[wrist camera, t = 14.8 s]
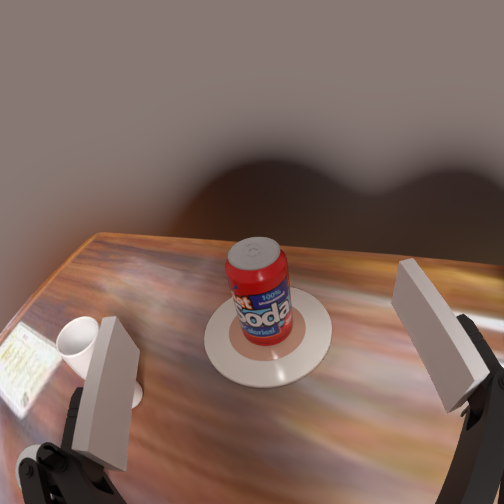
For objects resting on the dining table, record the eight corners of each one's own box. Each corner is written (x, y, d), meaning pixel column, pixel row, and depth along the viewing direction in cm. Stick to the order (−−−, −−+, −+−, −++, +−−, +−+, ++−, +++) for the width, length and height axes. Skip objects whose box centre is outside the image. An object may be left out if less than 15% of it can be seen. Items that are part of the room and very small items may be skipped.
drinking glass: (116, 421, 35) (56, 365, 27) (106, 388, 40) (54, 328, 32) (154, 404, 38) (102, 343, 29) (141, 372, 43) (95, 307, 34)
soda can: (287, 306, 49) (278, 228, 40) (298, 343, 42) (292, 263, 34) (240, 316, 49) (220, 240, 40) (246, 354, 42) (223, 277, 34)
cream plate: (331, 289, 52) (331, 284, 51) (329, 391, 36) (330, 387, 35) (223, 288, 56) (221, 284, 56) (190, 380, 41) (188, 376, 40)
